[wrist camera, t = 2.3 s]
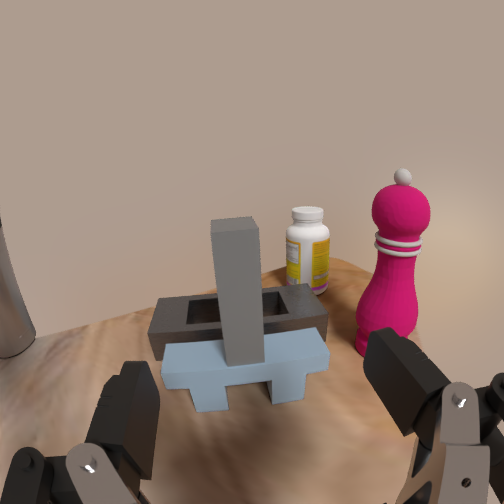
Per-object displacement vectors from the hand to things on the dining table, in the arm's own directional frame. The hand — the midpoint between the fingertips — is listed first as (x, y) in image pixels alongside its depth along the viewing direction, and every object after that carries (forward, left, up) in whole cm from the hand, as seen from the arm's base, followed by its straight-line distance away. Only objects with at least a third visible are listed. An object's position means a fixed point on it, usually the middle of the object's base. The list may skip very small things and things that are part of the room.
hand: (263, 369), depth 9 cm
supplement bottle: (+12, +31, -14) cm, 37 cm away
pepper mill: (+16, +14, -14) cm, 26 cm away
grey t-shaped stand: (0, +11, -14) cm, 18 cm away
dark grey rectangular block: (0, +21, -14) cm, 26 cm away
